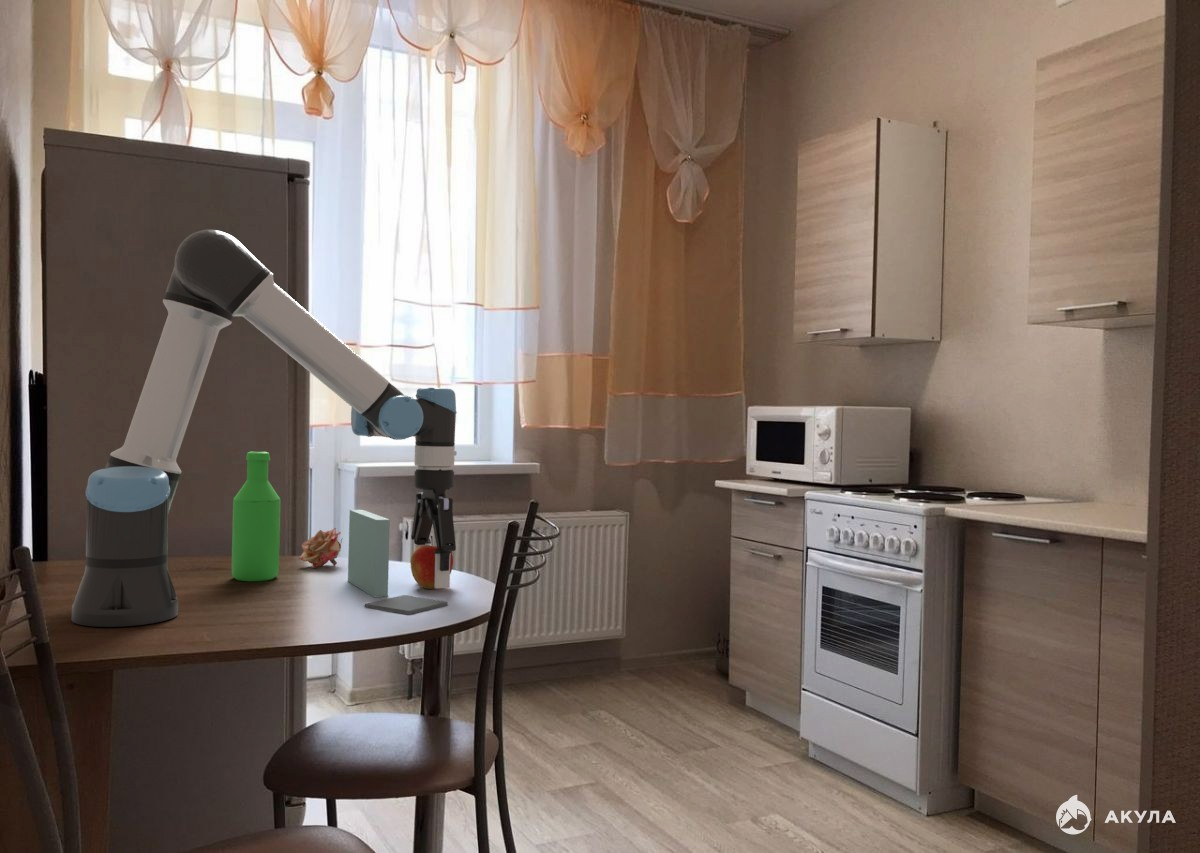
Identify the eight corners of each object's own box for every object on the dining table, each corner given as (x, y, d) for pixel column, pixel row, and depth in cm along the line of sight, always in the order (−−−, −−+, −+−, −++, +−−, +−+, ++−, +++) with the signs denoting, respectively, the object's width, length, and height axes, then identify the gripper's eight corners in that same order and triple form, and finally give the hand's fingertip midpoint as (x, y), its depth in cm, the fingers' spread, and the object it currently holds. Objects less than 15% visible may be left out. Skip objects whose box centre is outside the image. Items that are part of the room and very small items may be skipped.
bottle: (286, 575, 195) (289, 451, 194) (266, 583, 186) (270, 453, 186) (243, 573, 196) (246, 450, 195) (222, 581, 187) (226, 451, 187)
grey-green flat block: (390, 596, 177) (392, 519, 177) (374, 597, 175) (376, 519, 175) (362, 579, 192) (364, 509, 192) (347, 580, 191) (349, 509, 191)
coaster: (408, 614, 161) (408, 610, 161) (364, 606, 166) (364, 603, 166) (447, 605, 170) (447, 601, 170) (404, 598, 175) (404, 594, 175)
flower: (334, 553, 215) (314, 525, 212) (361, 549, 209) (341, 520, 206) (307, 582, 208) (286, 554, 205) (334, 579, 202) (313, 550, 199)
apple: (415, 592, 181) (416, 539, 181) (405, 585, 188) (407, 533, 188) (457, 590, 184) (458, 538, 184) (446, 583, 191) (447, 532, 191)
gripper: (475, 472, 178) (472, 591, 178) (432, 464, 198) (429, 572, 198) (436, 472, 174) (433, 594, 174) (396, 464, 194) (393, 574, 194)
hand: (431, 582), depth 186 cm, fingers open, 11 cm apart
